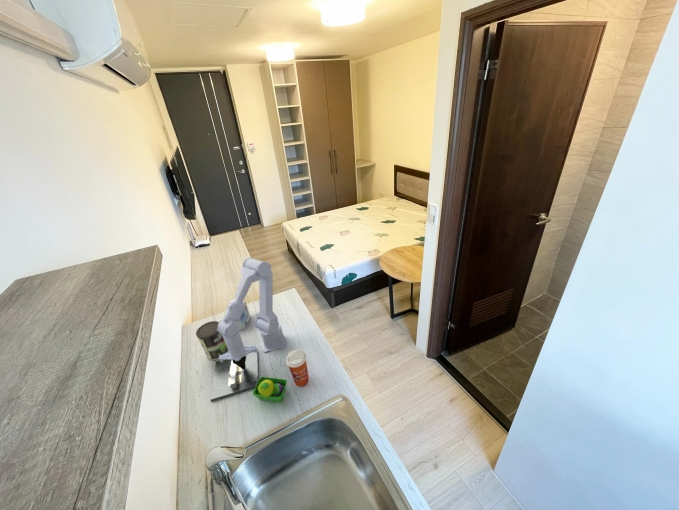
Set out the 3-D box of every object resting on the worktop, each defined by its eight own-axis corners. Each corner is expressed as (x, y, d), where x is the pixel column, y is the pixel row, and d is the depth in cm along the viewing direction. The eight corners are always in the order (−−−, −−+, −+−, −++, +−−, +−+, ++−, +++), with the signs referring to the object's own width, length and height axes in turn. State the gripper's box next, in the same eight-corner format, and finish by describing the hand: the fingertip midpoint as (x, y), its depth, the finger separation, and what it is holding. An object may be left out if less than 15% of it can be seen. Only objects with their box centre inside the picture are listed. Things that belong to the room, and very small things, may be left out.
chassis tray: (257, 351, 125) (255, 344, 122) (258, 387, 109) (255, 379, 106) (216, 363, 121) (213, 355, 119) (211, 401, 105) (207, 393, 103)
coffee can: (233, 343, 130) (225, 321, 124) (221, 361, 122) (211, 338, 115) (215, 342, 133) (205, 320, 126) (201, 359, 124) (190, 336, 117)
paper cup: (295, 392, 105) (289, 368, 98) (289, 377, 111) (282, 353, 104) (314, 383, 108) (309, 358, 101) (307, 369, 114) (301, 345, 107)
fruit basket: (290, 388, 107) (284, 368, 101) (281, 410, 99) (275, 390, 94) (263, 384, 109) (256, 365, 104) (253, 405, 102) (245, 386, 96)
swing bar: (238, 357, 121) (236, 352, 119) (237, 387, 108) (234, 382, 106) (234, 358, 120) (232, 354, 119) (231, 389, 107) (229, 384, 106)
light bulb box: (244, 330, 138) (238, 313, 133) (231, 331, 138) (225, 314, 133) (250, 315, 147) (245, 300, 142) (238, 316, 148) (232, 300, 142)
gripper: (214, 357, 103) (225, 380, 110) (253, 346, 106) (261, 369, 113) (216, 344, 109) (226, 366, 116) (253, 334, 112) (261, 356, 119)
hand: (243, 367), depth 115 cm, fingers closed
